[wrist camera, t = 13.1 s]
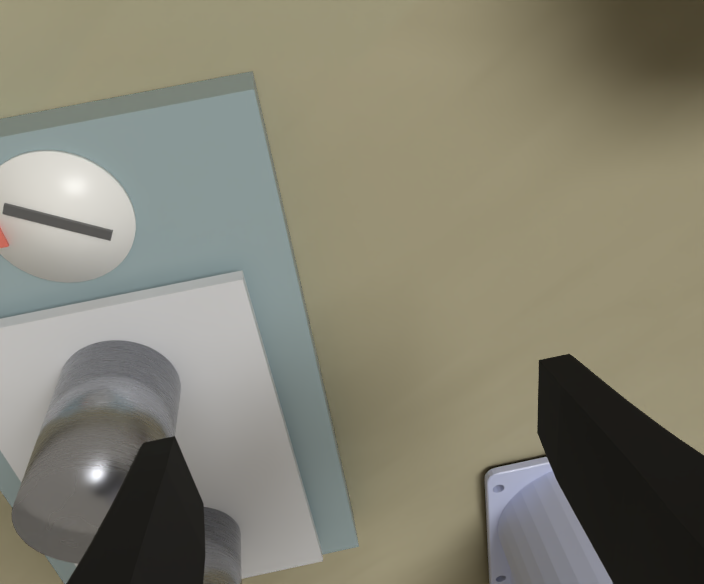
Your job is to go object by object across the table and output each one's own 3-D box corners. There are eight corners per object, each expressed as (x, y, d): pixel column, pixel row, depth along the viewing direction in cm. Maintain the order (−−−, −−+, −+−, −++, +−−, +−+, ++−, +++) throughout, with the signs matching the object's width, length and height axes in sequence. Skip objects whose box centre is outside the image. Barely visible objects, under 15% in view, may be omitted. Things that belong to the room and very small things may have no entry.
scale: (353, 515, 30) (362, 567, 28) (87, 572, 30) (75, 629, 28) (252, 71, 19) (255, 101, 17) (-183, 153, 18) (-237, 195, 16)
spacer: (187, 424, 22) (172, 557, 18) (73, 432, 22) (31, 571, 18) (173, 336, 20) (153, 463, 16) (47, 344, 20) (-7, 476, 16)
